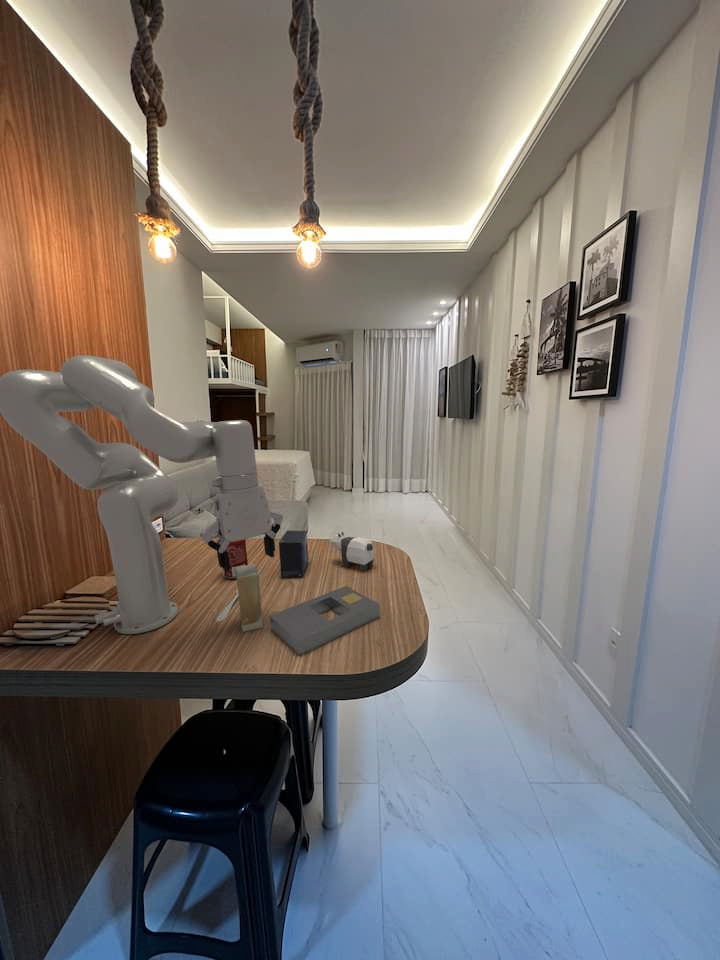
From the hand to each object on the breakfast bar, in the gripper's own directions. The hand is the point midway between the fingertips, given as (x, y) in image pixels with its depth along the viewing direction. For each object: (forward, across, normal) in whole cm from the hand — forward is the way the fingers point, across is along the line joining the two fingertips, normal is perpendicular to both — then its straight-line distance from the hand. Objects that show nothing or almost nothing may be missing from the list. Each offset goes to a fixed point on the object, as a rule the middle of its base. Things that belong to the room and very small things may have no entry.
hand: (248, 562), depth 79 cm
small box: (+14, +20, +19) cm, 31 cm away
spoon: (+14, -1, +12) cm, 19 cm away
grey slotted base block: (+14, +11, -10) cm, 21 cm away
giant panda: (+15, +34, +10) cm, 39 cm away
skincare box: (+14, -1, +1) cm, 14 cm away
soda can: (+14, +6, +28) cm, 32 cm away
